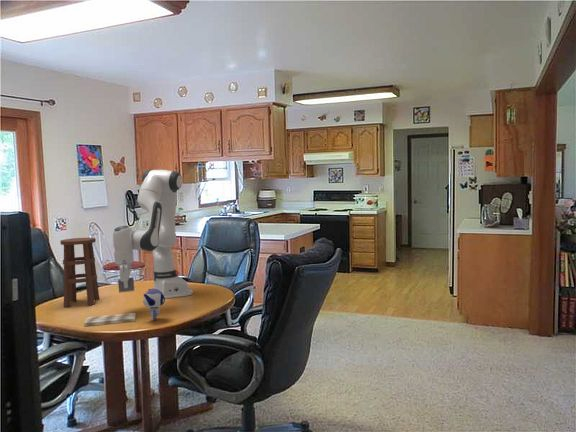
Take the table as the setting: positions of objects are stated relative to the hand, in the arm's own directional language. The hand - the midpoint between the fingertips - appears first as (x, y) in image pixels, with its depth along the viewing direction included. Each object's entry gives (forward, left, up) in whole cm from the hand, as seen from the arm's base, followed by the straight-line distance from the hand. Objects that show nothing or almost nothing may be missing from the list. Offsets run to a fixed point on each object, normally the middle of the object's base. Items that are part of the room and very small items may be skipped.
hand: (126, 286), depth 237 cm
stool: (+25, -31, -14) cm, 42 cm away
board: (+7, +11, -13) cm, 19 cm away
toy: (-13, +18, -14) cm, 26 cm away
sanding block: (0, 0, -2) cm, 2 cm away
